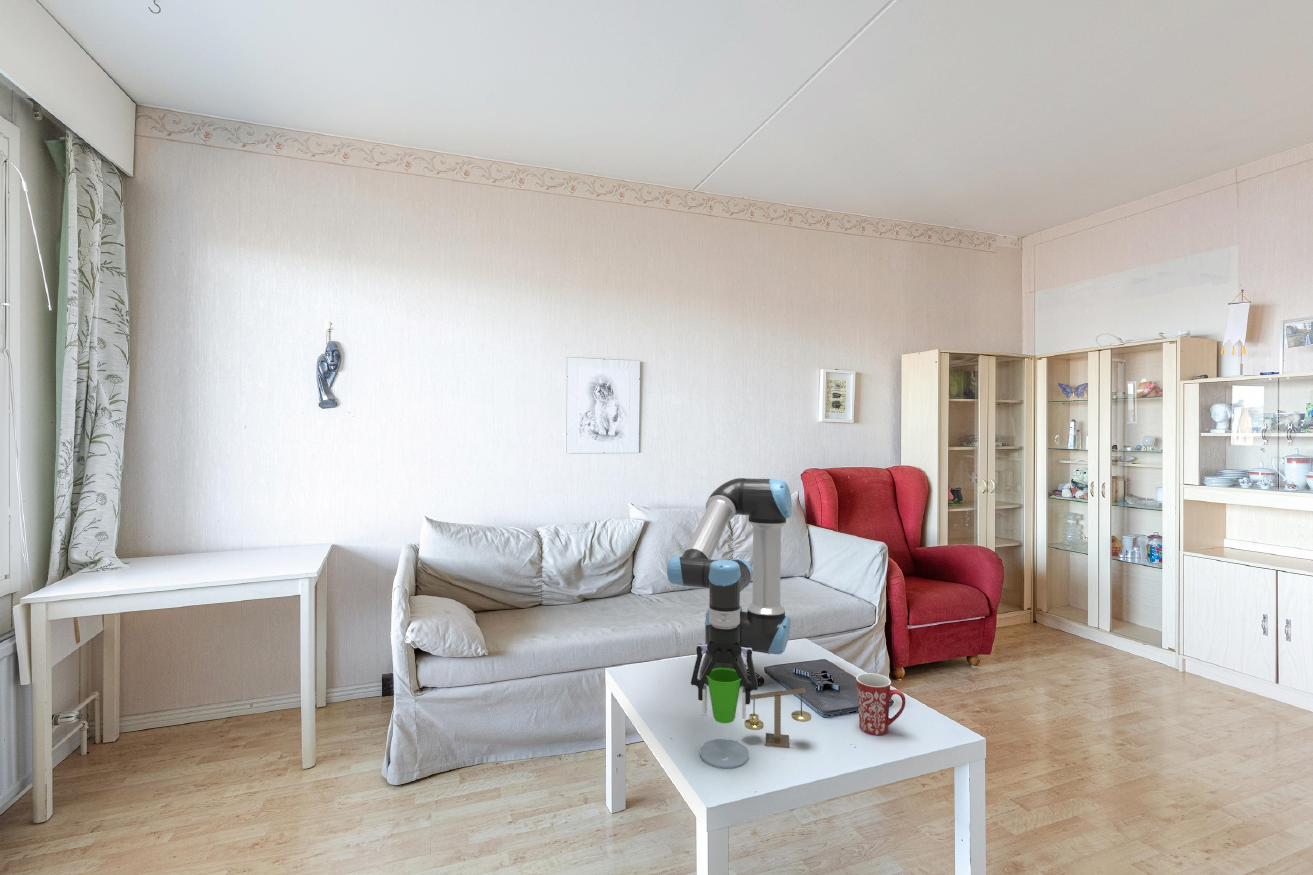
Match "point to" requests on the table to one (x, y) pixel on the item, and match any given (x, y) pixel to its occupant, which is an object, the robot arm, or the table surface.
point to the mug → (875, 703)
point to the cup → (724, 693)
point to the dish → (724, 753)
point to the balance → (776, 717)
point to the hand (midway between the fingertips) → (724, 714)
